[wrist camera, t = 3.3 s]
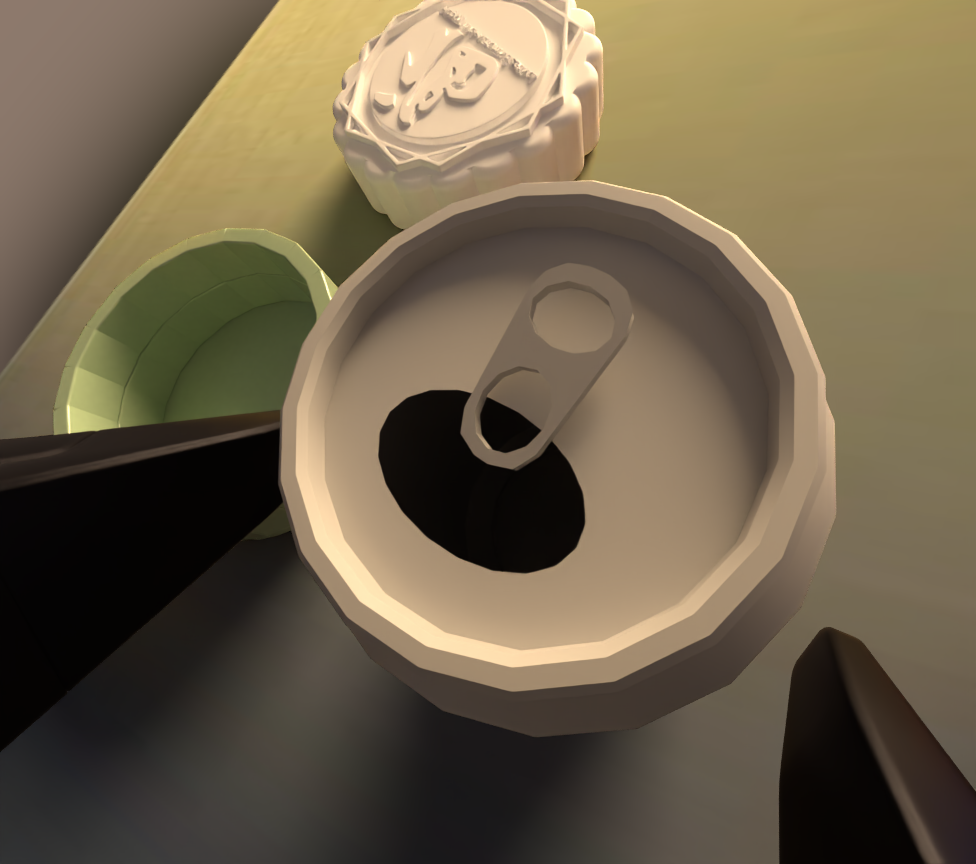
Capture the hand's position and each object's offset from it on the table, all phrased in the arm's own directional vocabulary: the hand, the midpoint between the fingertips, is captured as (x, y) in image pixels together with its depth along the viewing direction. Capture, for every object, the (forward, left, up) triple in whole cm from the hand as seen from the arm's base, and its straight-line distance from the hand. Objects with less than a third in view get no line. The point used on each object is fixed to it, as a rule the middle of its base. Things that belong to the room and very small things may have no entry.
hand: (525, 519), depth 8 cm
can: (+1, 0, -9) cm, 9 cm away
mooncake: (+15, +13, -9) cm, 22 cm away
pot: (-1, +14, -8) cm, 17 cm away
